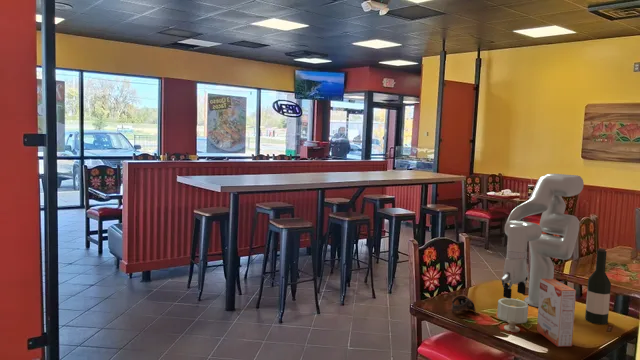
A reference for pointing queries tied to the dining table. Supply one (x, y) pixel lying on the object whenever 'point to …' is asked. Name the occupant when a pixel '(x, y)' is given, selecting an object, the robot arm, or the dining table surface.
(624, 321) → the dining table surface
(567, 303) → the cracker box
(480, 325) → the dining table surface
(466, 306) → the pottery mug
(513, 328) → the ball stand
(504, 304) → the pale green bowl
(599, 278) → the wine bottle
